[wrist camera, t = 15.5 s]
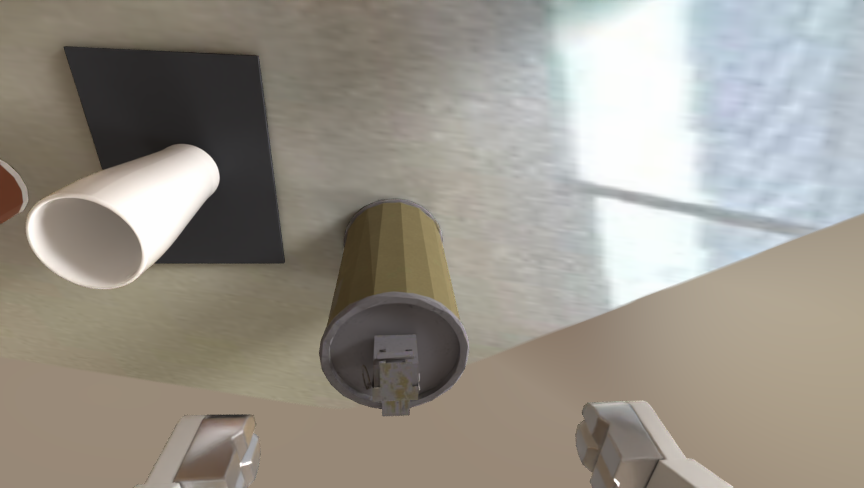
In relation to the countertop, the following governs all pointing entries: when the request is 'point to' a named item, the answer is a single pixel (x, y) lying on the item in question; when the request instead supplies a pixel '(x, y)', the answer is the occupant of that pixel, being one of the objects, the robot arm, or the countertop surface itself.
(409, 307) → the canister
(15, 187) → the coffee cup
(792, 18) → the countertop surface
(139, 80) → the place mat
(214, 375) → the countertop surface
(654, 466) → the robot arm
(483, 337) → the countertop surface
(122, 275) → the white tapered cylinder
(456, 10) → the countertop surface
